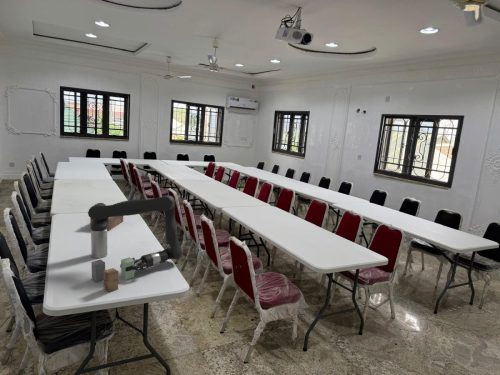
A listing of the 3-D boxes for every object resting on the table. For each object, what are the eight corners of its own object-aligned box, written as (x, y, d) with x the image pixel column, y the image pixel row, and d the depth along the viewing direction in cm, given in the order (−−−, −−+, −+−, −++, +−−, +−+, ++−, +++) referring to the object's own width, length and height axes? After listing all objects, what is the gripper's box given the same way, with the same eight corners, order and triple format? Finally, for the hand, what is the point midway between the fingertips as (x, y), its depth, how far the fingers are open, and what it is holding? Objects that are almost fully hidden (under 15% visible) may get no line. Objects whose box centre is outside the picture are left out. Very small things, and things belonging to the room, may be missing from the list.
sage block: (121, 276, 189) (121, 259, 187) (129, 274, 192) (129, 257, 191) (125, 279, 185) (125, 262, 184) (134, 277, 189) (134, 260, 187)
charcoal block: (91, 279, 184) (91, 261, 182) (100, 276, 187) (100, 259, 185) (96, 282, 180) (95, 264, 178) (105, 279, 184) (105, 262, 182)
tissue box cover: (108, 231, 260) (108, 218, 259) (90, 229, 261) (90, 217, 259) (123, 221, 286) (123, 210, 284) (106, 220, 286) (106, 208, 285)
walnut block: (104, 288, 175) (103, 270, 173) (113, 285, 178) (113, 267, 176) (108, 292, 171) (108, 273, 169) (118, 289, 175) (118, 271, 173)
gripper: (143, 250, 202) (116, 257, 190) (157, 257, 193) (130, 265, 180) (143, 262, 204) (116, 270, 191) (157, 270, 195) (130, 279, 182)
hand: (123, 268), depth 186 cm, fingers closed on sage block, 5 cm apart
